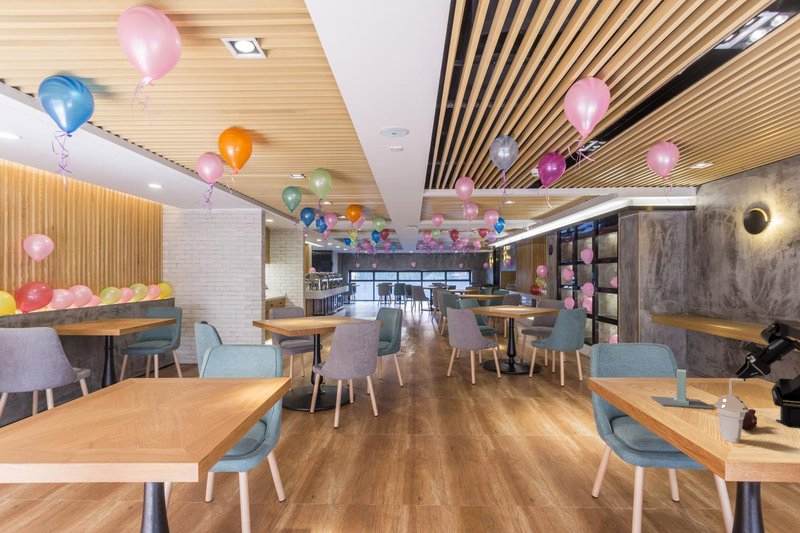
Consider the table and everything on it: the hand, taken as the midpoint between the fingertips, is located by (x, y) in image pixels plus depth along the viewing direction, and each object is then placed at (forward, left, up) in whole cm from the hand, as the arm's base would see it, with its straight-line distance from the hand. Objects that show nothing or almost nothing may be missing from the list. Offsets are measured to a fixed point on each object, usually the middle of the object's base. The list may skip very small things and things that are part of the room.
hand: (737, 376), depth 160 cm
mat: (+8, +16, -14) cm, 22 cm away
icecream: (-19, +8, -14) cm, 25 cm away
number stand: (+8, +16, -13) cm, 22 cm away
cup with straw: (-33, +19, -14) cm, 40 cm away
